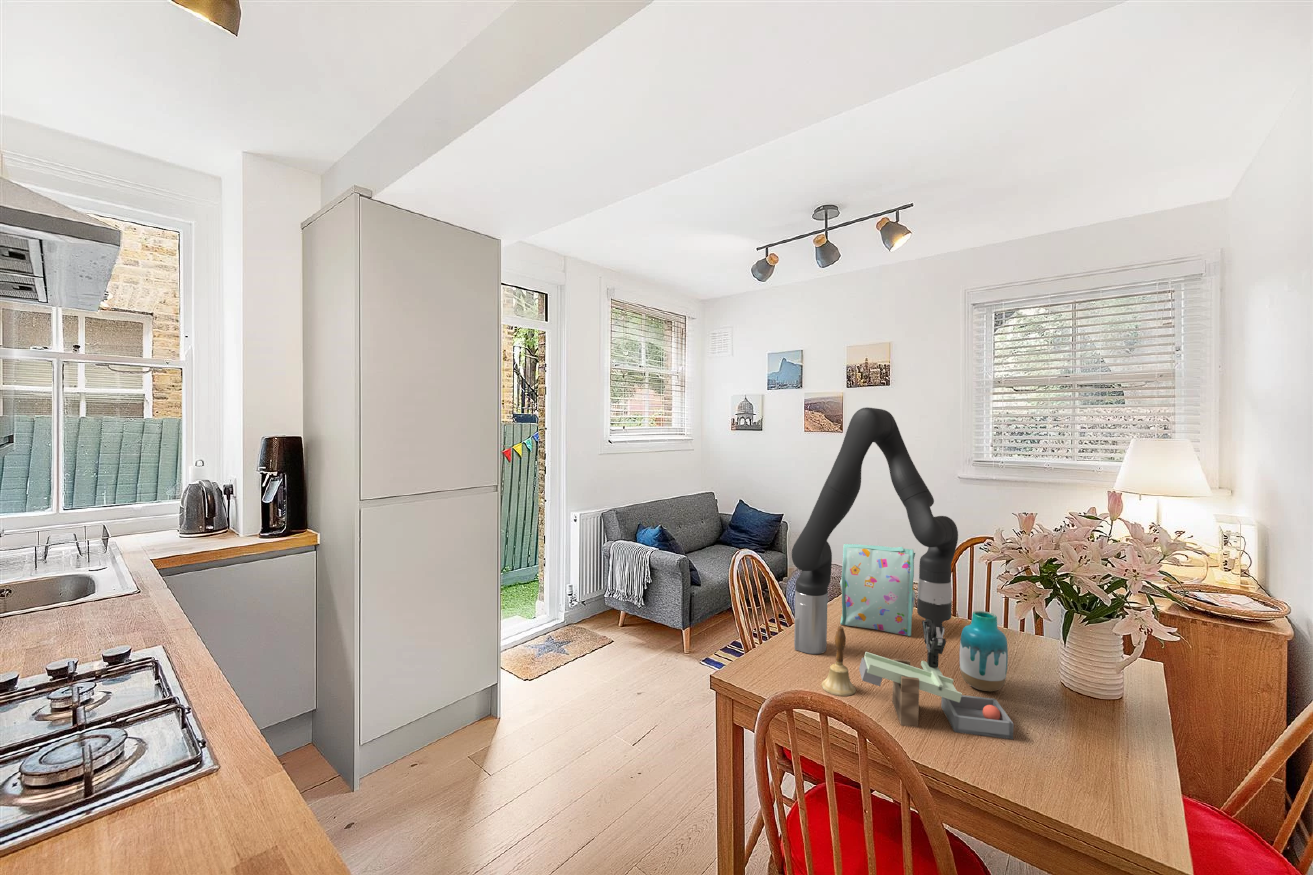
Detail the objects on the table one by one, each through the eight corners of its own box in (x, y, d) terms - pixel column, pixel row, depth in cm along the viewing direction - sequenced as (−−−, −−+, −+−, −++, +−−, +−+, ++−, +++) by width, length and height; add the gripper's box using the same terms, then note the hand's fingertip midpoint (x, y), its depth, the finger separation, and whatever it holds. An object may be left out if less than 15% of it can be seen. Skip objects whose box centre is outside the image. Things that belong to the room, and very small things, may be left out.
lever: (862, 681, 128) (868, 661, 127) (854, 652, 143) (859, 634, 142) (956, 712, 124) (962, 691, 123) (937, 679, 139) (943, 661, 138)
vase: (990, 702, 135) (992, 625, 134) (949, 682, 144) (951, 610, 143) (1015, 692, 140) (1018, 617, 139) (974, 674, 149) (977, 604, 148)
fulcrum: (900, 724, 125) (902, 678, 124) (892, 701, 135) (893, 658, 134) (918, 727, 124) (919, 680, 123) (908, 703, 134) (909, 659, 134)
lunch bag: (913, 621, 186) (915, 542, 185) (914, 639, 171) (916, 554, 170) (842, 610, 196) (843, 535, 194) (837, 627, 181) (838, 546, 179)
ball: (986, 724, 124) (984, 709, 124) (981, 716, 127) (979, 701, 127) (1003, 725, 123) (1002, 709, 123) (997, 716, 127) (996, 701, 126)
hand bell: (857, 684, 143) (858, 623, 143) (853, 699, 136) (855, 635, 135) (824, 677, 147) (825, 618, 146) (819, 691, 139) (820, 629, 139)
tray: (954, 731, 122) (954, 716, 122) (941, 706, 133) (941, 692, 132) (1012, 739, 120) (1013, 723, 119) (995, 713, 130) (995, 698, 130)
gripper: (912, 587, 143) (910, 653, 144) (924, 605, 130) (922, 677, 131) (943, 590, 142) (941, 656, 143) (959, 607, 129) (957, 680, 130)
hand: (932, 666), depth 137 cm, fingers closed
